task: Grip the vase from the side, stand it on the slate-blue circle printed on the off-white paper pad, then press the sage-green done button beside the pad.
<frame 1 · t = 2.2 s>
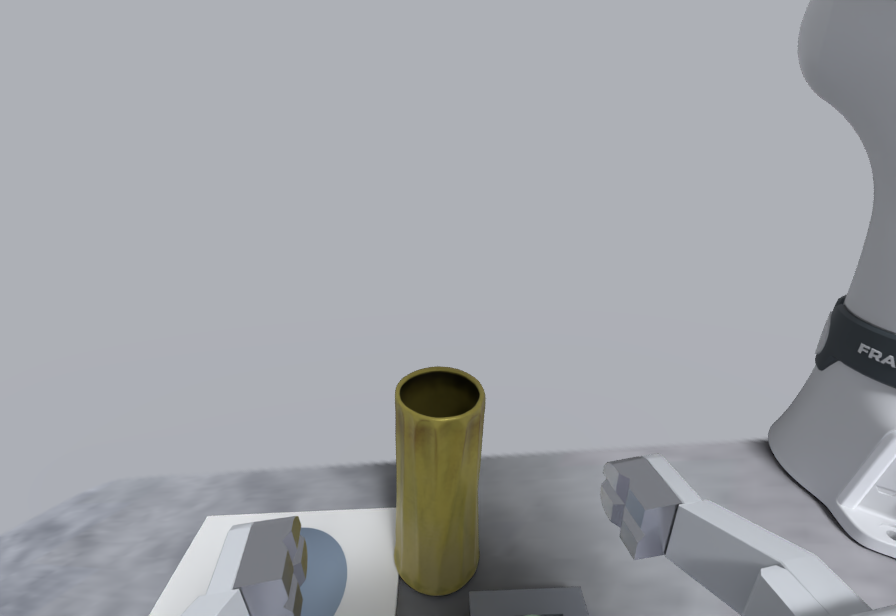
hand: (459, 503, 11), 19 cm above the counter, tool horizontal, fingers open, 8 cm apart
paper pad: (280, 592, 28), on the counter
vase: (436, 555, 30), on the counter, touching paper pad
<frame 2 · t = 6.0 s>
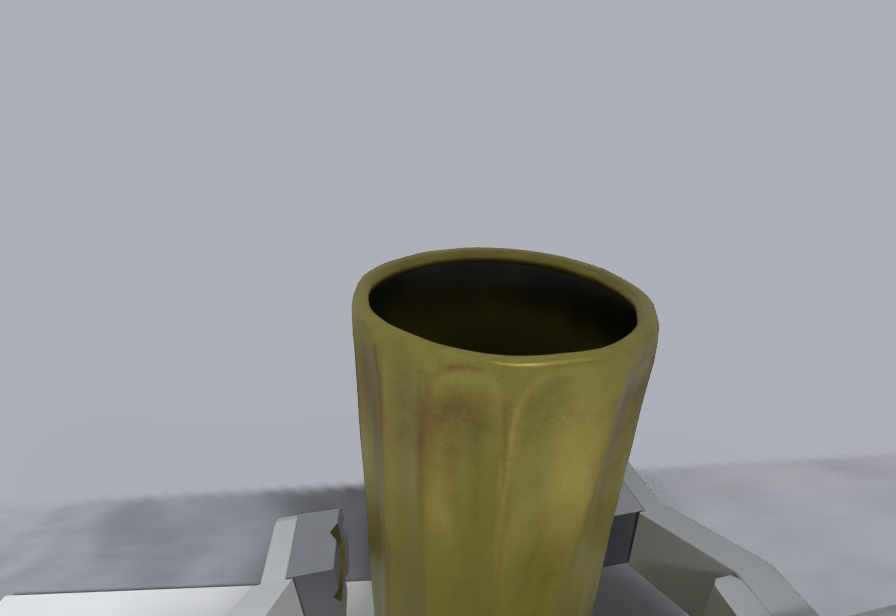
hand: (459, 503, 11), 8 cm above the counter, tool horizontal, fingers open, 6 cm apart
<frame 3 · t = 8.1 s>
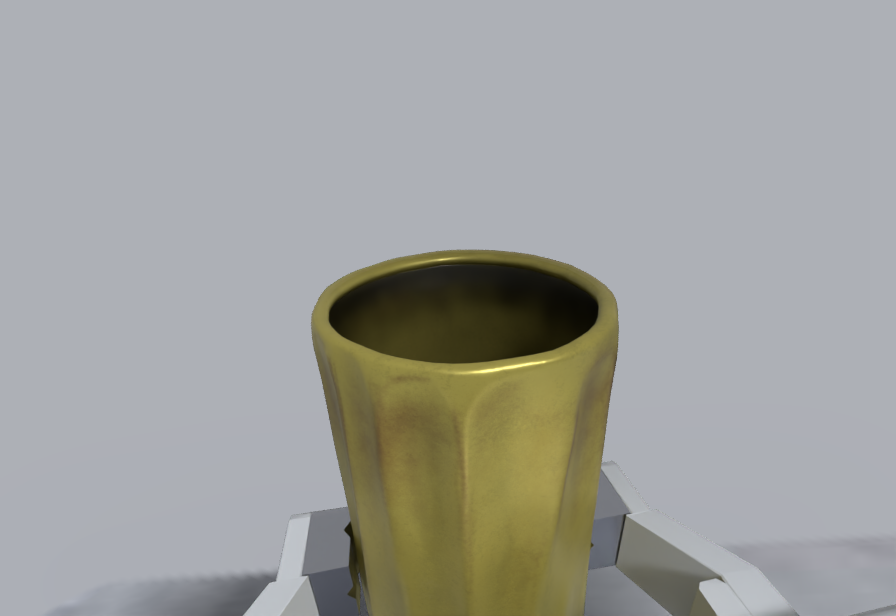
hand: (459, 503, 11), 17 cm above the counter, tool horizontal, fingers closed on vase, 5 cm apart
when the fingers open (10 cm above the counter, at t = 10.2 s): vase drops 2 cm, resting on paper pad.
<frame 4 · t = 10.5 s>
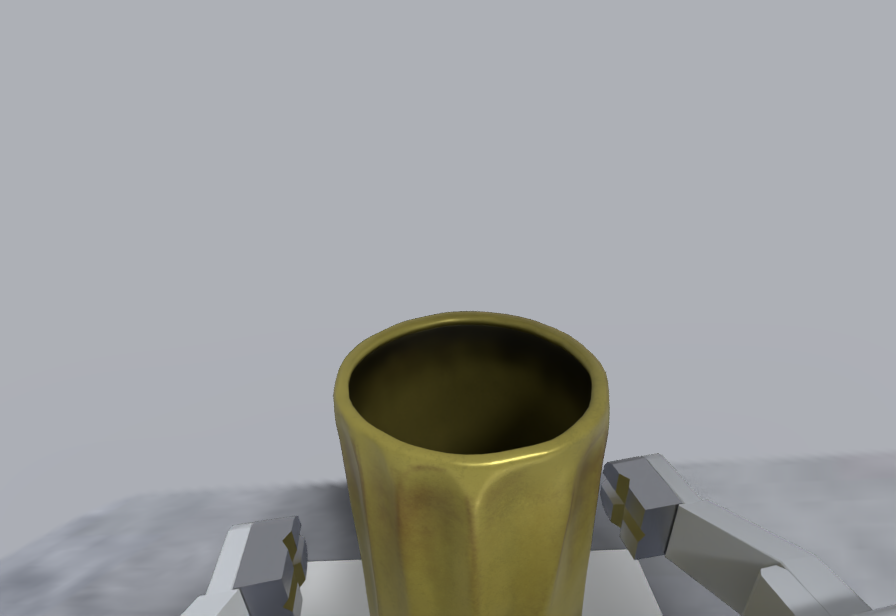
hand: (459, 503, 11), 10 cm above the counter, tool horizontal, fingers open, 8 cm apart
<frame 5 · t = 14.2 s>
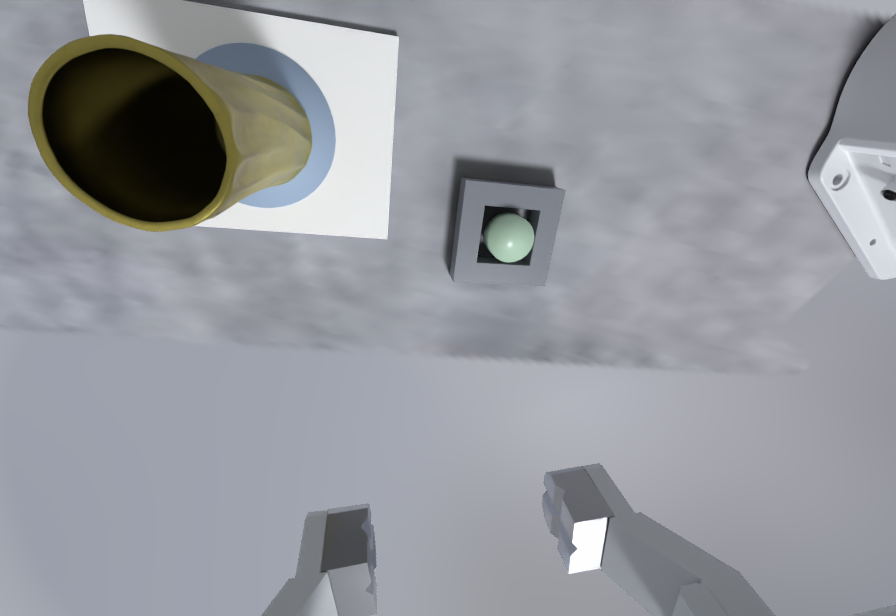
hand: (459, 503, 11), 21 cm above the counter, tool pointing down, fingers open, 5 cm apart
paper pad: (259, 131, 25), on the counter
done button: (508, 237, 29), point 2 cm above the counter, slide at 0.0 cm
vase: (259, 133, 25), resting on paper pad
button collar: (501, 231, 30), on the counter
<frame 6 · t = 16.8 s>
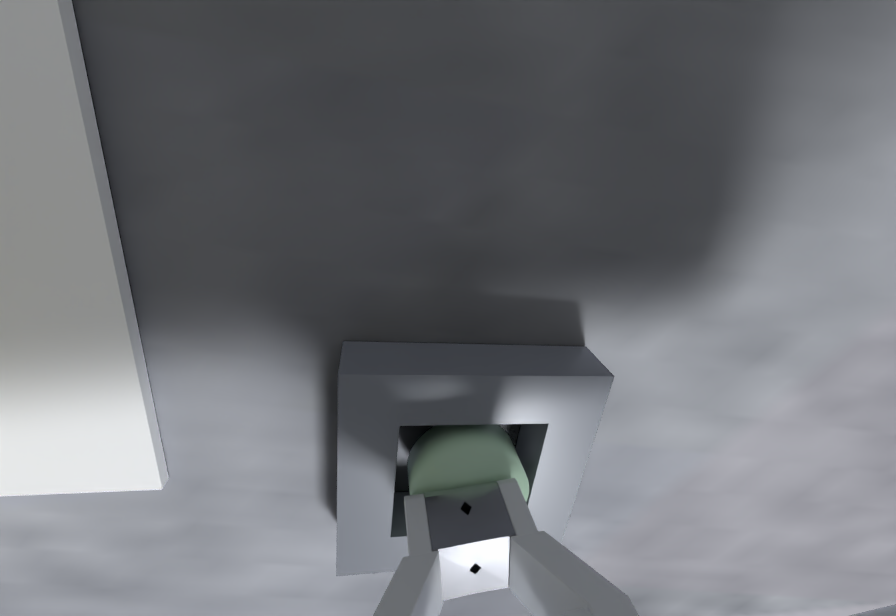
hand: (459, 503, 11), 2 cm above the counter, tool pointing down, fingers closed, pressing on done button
done button: (466, 479, 12), point 1 cm above the counter, slide at 0.2 cm, touching gripper
button collar: (456, 442, 13), on the counter
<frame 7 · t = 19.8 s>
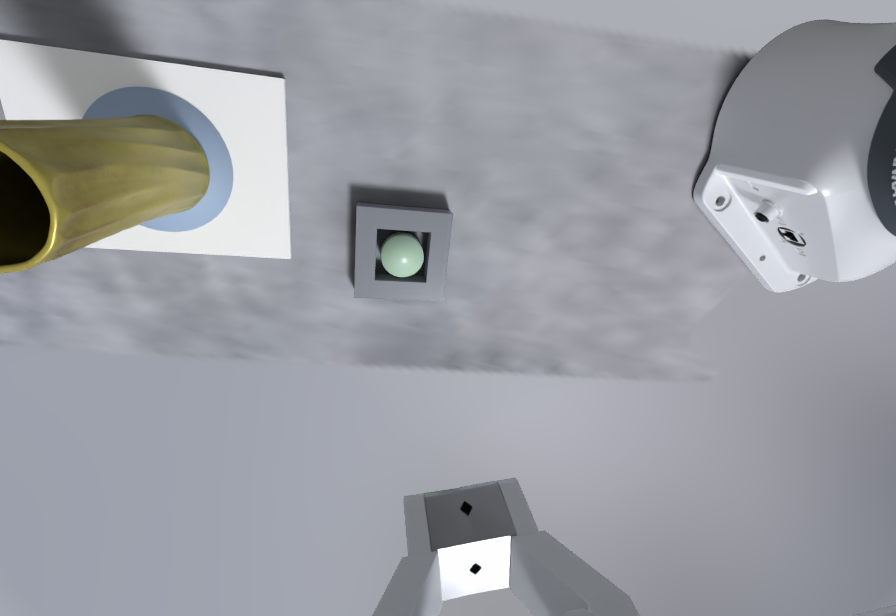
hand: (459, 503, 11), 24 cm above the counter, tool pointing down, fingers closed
paper pad: (162, 163, 27), on the counter
done button: (402, 254, 32), point 1 cm above the counter, slide at 0.7 cm
vase: (161, 165, 27), resting on paper pad
button collar: (401, 250, 33), on the counter
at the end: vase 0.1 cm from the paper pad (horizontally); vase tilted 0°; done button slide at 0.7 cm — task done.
